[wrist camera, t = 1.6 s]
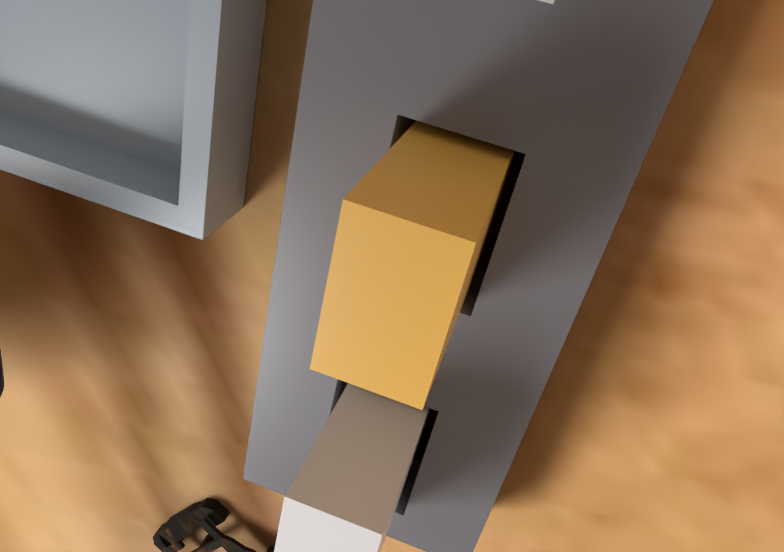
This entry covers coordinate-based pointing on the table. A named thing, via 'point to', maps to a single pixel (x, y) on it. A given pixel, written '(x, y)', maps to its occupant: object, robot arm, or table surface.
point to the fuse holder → (519, 228)
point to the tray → (133, 103)
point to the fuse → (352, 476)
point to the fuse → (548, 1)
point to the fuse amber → (407, 260)
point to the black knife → (191, 519)
